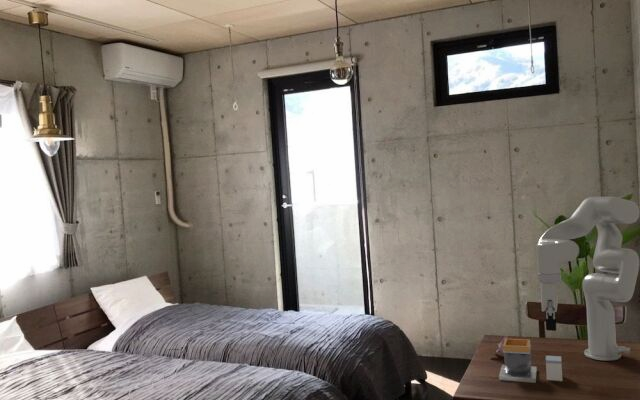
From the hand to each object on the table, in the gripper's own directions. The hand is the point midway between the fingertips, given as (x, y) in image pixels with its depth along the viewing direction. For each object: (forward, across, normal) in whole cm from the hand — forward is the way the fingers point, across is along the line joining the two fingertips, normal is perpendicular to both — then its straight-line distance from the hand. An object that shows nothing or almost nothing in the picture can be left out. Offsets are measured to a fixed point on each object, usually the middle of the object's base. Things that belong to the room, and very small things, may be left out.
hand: (551, 326), depth 197 cm
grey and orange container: (+18, 0, -12) cm, 22 cm away
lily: (+18, -19, -19) cm, 33 cm away
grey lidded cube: (+18, 0, 0) cm, 18 cm away
